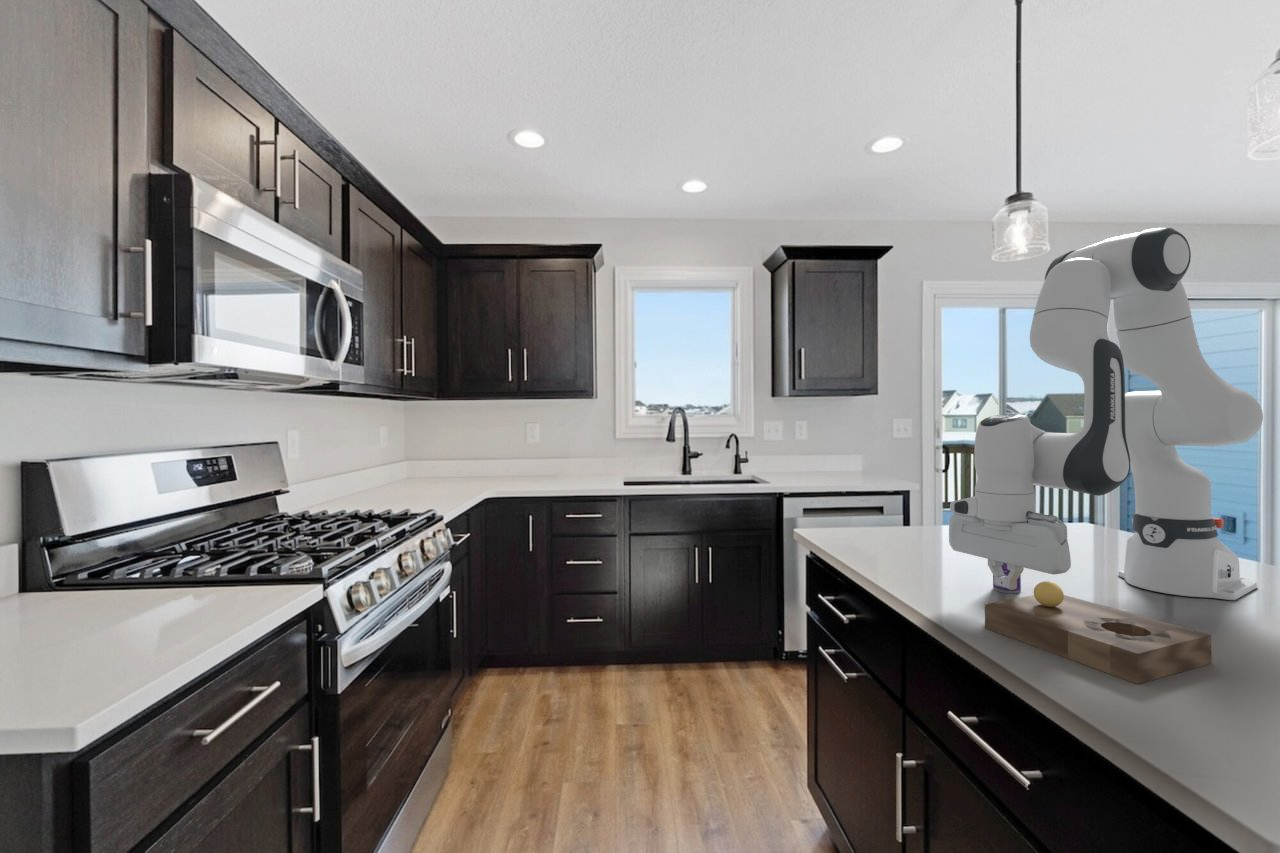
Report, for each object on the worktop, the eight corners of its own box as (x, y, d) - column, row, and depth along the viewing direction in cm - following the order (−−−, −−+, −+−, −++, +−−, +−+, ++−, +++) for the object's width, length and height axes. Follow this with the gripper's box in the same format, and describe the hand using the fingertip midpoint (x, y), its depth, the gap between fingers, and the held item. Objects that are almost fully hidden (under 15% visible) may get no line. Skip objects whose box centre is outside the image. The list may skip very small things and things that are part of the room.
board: (1052, 614, 102) (1051, 591, 102) (1211, 663, 81) (1211, 634, 81) (985, 628, 96) (984, 604, 96) (1138, 684, 76) (1137, 653, 76)
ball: (1044, 601, 97) (1044, 577, 97) (1069, 608, 93) (1069, 583, 93) (1027, 604, 95) (1027, 580, 95) (1052, 611, 92) (1052, 586, 92)
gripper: (1079, 515, 92) (1081, 602, 93) (967, 499, 111) (968, 571, 112) (1052, 518, 90) (1053, 607, 90) (942, 501, 109) (943, 575, 110)
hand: (1005, 587), depth 101 cm, fingers closed
